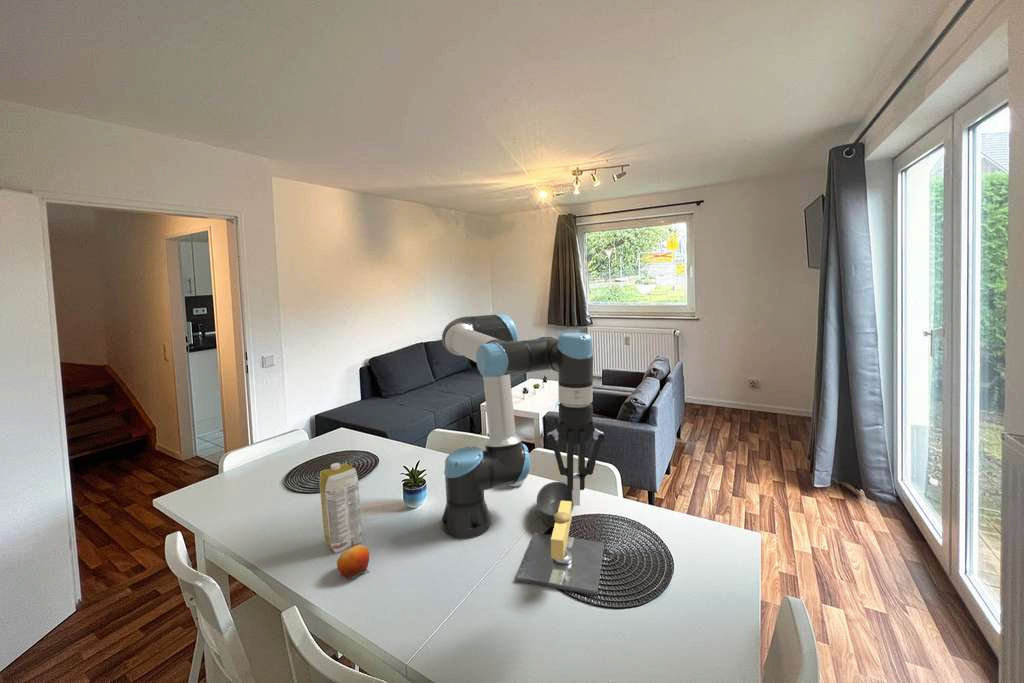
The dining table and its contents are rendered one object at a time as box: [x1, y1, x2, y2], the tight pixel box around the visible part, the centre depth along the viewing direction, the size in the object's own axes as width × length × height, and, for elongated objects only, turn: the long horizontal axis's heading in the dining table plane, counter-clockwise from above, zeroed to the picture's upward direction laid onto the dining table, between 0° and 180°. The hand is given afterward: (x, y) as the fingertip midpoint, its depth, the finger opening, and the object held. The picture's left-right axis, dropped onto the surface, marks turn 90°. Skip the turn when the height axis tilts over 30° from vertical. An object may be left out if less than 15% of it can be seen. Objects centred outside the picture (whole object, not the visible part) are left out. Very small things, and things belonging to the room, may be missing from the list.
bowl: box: [536, 481, 575, 528], centre depth 138 cm, size 12×22×6 cm, turn 169°
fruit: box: [336, 544, 370, 580], centre depth 112 cm, size 8×8×8 cm
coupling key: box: [551, 501, 573, 560], centre depth 113 cm, size 19×4×6 cm, turn 166°
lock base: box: [515, 532, 605, 597], centre depth 114 cm, size 20×20×7 cm
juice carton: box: [319, 462, 363, 554], centre depth 124 cm, size 9×8×24 cm
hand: (575, 502), depth 99 cm, fingers closed
